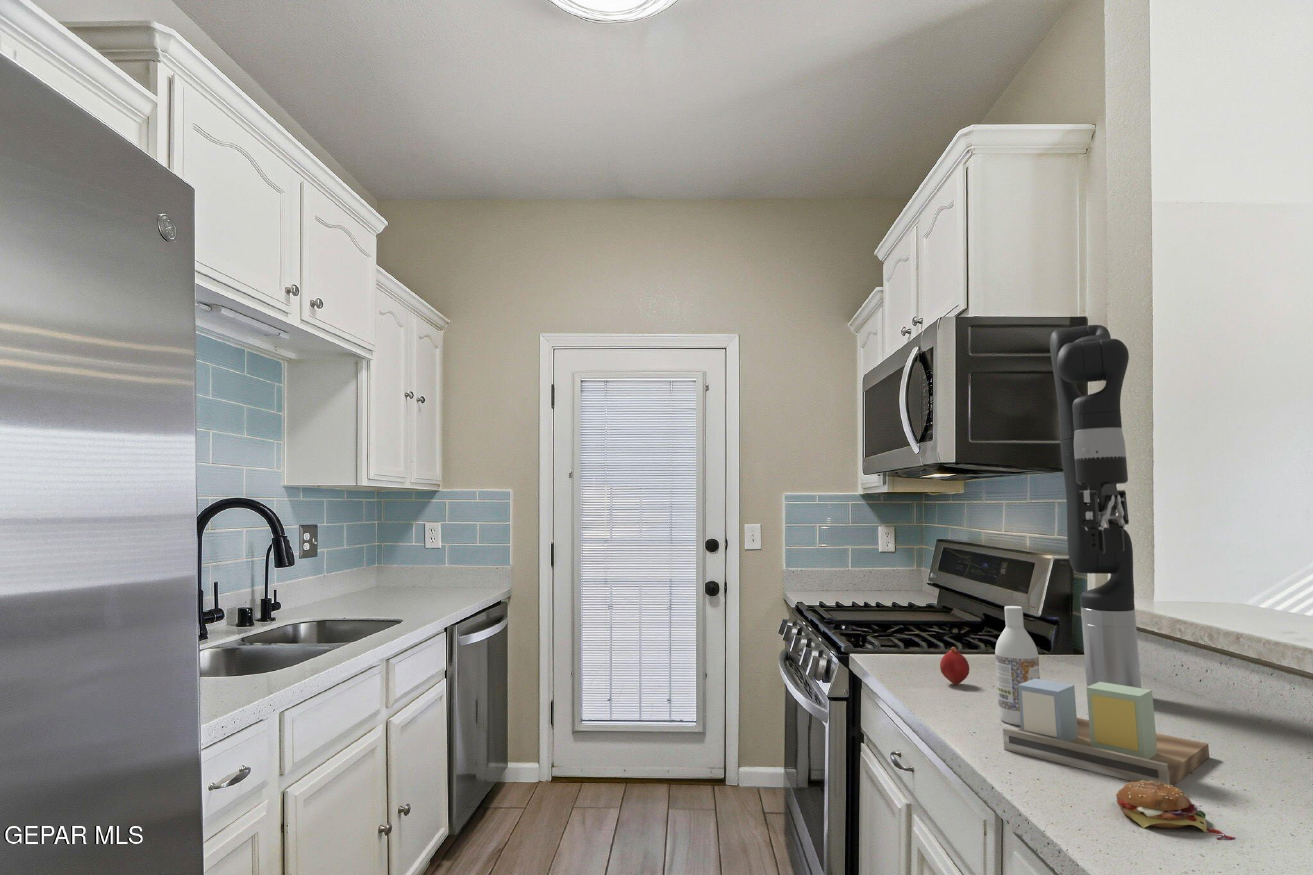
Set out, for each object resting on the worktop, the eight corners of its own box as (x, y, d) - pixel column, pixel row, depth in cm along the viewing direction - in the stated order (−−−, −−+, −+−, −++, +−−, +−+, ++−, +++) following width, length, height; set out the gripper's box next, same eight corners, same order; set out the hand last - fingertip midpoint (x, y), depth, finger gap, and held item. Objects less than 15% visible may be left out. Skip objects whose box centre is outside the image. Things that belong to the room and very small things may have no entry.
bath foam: (1029, 729, 124) (1021, 610, 126) (991, 720, 130) (984, 606, 131) (1050, 722, 128) (1042, 607, 130) (1013, 713, 133) (1005, 603, 135)
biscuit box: (1038, 728, 118) (1034, 678, 118) (1078, 737, 113) (1074, 684, 114) (1020, 737, 114) (1017, 684, 115) (1061, 746, 109) (1057, 691, 110)
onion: (938, 681, 158) (936, 644, 159) (965, 681, 157) (963, 644, 158) (945, 688, 152) (942, 649, 153) (973, 688, 152) (971, 649, 152)
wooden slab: (1055, 724, 126) (1054, 706, 126) (1209, 757, 109) (1207, 735, 109) (1003, 749, 114) (1001, 728, 114) (1167, 790, 97) (1165, 765, 97)
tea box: (1104, 741, 111) (1099, 681, 112) (1157, 753, 105) (1152, 689, 106) (1090, 749, 108) (1085, 687, 108) (1144, 761, 102) (1139, 696, 103)
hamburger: (1137, 848, 82) (1133, 793, 83) (1091, 799, 96) (1087, 752, 96) (1279, 857, 79) (1274, 800, 80) (1211, 806, 93) (1206, 757, 94)
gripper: (1108, 453, 116) (1116, 555, 114) (1140, 455, 125) (1148, 550, 123) (1058, 456, 122) (1065, 553, 120) (1092, 458, 131) (1099, 549, 129)
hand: (1107, 552), depth 122 cm, fingers open, 8 cm apart
